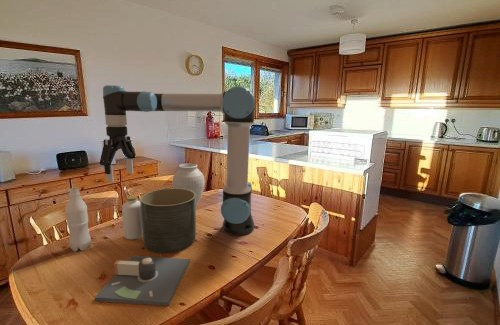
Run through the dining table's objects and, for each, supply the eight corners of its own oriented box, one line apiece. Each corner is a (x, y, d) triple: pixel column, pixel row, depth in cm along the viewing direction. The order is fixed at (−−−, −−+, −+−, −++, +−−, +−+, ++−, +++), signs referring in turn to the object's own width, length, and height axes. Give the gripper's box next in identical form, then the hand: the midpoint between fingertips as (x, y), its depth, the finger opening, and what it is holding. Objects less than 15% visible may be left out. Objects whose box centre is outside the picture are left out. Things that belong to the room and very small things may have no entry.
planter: (155, 227, 123) (153, 187, 119) (201, 229, 122) (200, 188, 118) (133, 253, 101) (129, 204, 97) (189, 255, 101) (187, 206, 96)
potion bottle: (137, 241, 110) (134, 201, 106) (120, 239, 111) (116, 199, 108) (148, 232, 118) (146, 195, 114) (132, 230, 119) (129, 193, 116)
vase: (176, 201, 157) (174, 161, 152) (205, 201, 159) (205, 161, 154) (170, 213, 139) (168, 168, 134) (203, 212, 141) (203, 168, 136)
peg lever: (158, 270, 88) (157, 256, 87) (151, 280, 83) (151, 265, 82) (120, 268, 89) (119, 254, 88) (112, 277, 84) (110, 262, 83)
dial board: (190, 261, 96) (189, 258, 96) (168, 305, 75) (167, 301, 75) (132, 258, 98) (132, 255, 97) (95, 300, 76) (94, 296, 76)
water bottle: (95, 245, 106) (89, 187, 101) (79, 254, 99) (71, 192, 94) (82, 242, 108) (76, 185, 103) (65, 250, 102) (57, 190, 96)
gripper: (126, 123, 116) (129, 169, 120) (84, 127, 92) (90, 185, 96) (142, 124, 115) (144, 170, 119) (104, 128, 91) (109, 186, 95)
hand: (120, 177), depth 108 cm, fingers open, 13 cm apart
